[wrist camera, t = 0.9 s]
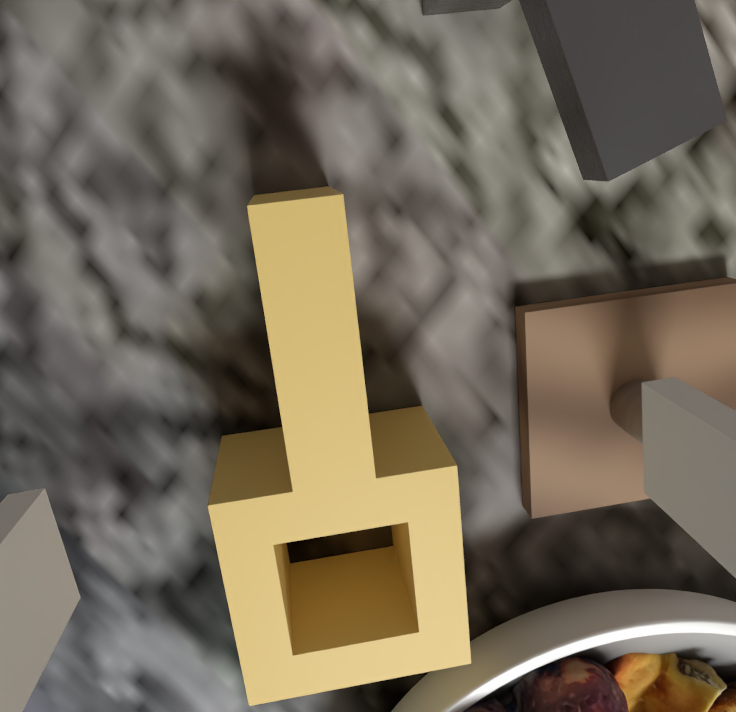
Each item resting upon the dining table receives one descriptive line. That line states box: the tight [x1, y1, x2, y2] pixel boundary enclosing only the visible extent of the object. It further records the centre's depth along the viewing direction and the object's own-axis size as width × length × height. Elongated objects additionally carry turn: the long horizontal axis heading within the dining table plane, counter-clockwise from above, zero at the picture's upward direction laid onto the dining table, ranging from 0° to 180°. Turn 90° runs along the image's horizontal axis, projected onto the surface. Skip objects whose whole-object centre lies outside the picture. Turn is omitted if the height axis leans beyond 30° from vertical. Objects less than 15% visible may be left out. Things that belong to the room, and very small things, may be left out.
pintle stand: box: [515, 277, 736, 519], centre depth 26 cm, size 10×10×9 cm
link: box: [208, 186, 471, 706], centre depth 26 cm, size 19×9×6 cm, turn 6°
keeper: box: [422, 0, 727, 181], centre depth 21 cm, size 9×6×10 cm, turn 6°
